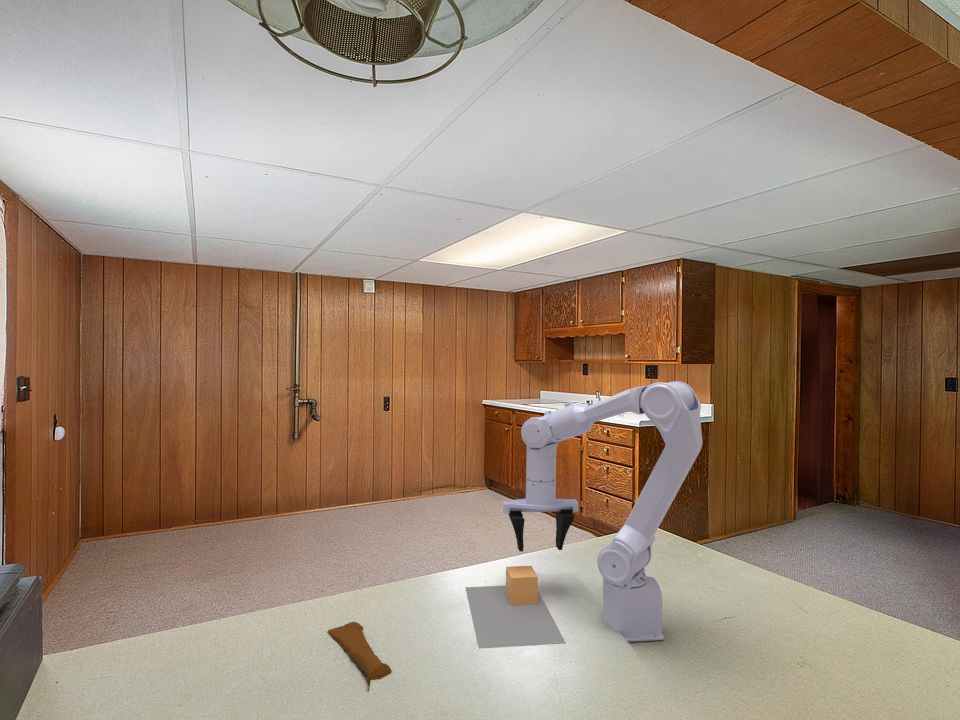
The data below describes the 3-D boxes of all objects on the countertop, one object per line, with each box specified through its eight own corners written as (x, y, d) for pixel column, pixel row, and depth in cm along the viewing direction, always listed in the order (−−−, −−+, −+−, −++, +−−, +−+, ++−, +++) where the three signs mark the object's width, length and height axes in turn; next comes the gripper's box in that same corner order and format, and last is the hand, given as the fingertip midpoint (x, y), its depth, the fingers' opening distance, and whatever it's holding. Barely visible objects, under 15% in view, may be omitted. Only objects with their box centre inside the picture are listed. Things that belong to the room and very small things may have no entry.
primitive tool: (326, 633, 86) (326, 612, 86) (357, 624, 89) (357, 604, 89) (369, 697, 70) (369, 672, 70) (405, 683, 73) (405, 659, 73)
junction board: (534, 591, 101) (535, 569, 101) (565, 652, 80) (566, 624, 80) (465, 594, 100) (465, 572, 99) (478, 657, 79) (479, 628, 79)
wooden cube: (530, 591, 98) (531, 565, 98) (537, 603, 93) (537, 576, 93) (505, 592, 97) (506, 566, 97) (510, 605, 93) (511, 577, 93)
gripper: (570, 473, 103) (569, 540, 103) (500, 474, 101) (499, 542, 101) (582, 482, 96) (581, 553, 96) (506, 483, 94) (505, 556, 94)
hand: (539, 549), depth 98 cm, fingers open, 7 cm apart
